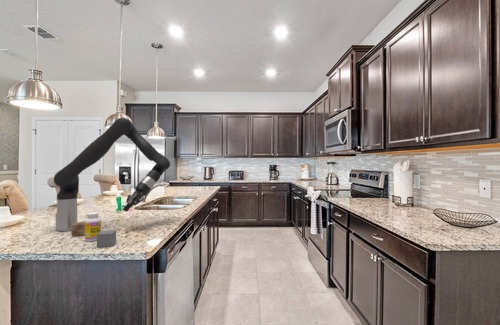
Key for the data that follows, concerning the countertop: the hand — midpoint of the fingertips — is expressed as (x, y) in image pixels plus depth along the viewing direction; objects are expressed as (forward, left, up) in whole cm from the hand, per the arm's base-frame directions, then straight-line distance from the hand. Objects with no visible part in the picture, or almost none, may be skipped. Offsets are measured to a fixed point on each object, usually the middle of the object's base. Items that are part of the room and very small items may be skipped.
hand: (124, 210), depth 134 cm
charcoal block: (+7, -20, -12) cm, 24 cm away
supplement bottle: (-6, -14, -12) cm, 20 cm away
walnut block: (-19, -9, -12) cm, 24 cm away
